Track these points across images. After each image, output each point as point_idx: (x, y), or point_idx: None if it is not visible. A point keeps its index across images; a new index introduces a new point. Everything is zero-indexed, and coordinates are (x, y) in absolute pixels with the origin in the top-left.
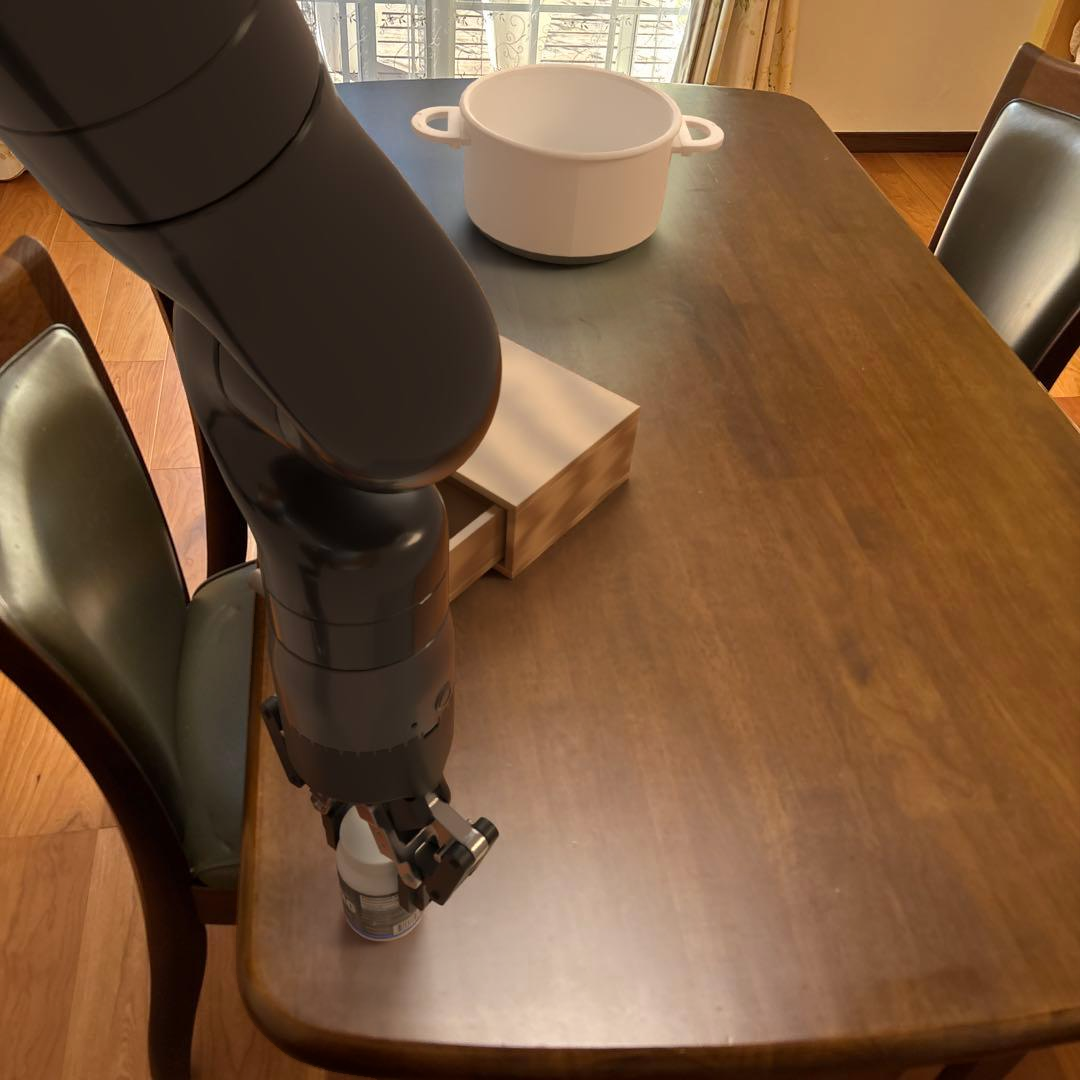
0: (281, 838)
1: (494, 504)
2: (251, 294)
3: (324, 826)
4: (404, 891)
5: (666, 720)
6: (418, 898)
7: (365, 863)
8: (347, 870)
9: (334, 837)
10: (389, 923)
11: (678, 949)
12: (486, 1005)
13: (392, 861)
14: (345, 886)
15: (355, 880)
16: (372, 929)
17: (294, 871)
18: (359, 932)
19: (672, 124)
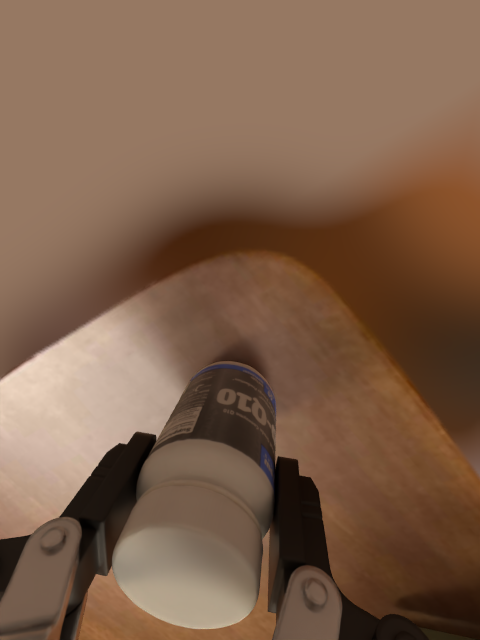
0: (383, 402)
1: None
2: None
3: (314, 489)
4: (110, 481)
5: (140, 618)
6: (103, 472)
7: (153, 526)
8: (217, 466)
9: (279, 495)
10: (183, 396)
11: (9, 472)
12: (91, 363)
13: (117, 544)
14: (223, 430)
15: (196, 457)
16: (204, 377)
17: (344, 379)
18: (226, 364)
19: None
